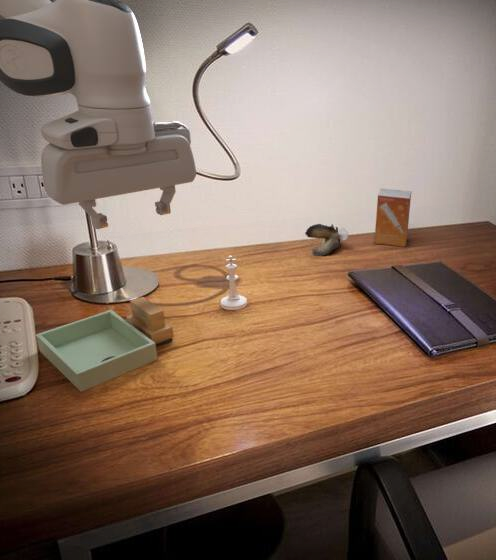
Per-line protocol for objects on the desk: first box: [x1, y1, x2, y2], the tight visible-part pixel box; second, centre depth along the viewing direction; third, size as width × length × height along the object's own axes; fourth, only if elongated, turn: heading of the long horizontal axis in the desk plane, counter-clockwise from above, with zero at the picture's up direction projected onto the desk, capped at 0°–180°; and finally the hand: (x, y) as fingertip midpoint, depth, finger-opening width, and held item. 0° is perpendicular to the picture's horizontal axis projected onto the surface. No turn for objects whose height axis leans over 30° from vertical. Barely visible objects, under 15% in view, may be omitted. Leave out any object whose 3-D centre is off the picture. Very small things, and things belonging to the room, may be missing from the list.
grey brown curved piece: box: [304, 223, 349, 256], centre depth 127 cm, size 8×7×9 cm
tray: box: [35, 309, 159, 393], centre depth 81 cm, size 14×11×4 cm
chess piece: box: [220, 255, 248, 311], centre depth 98 cm, size 5×5×10 cm
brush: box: [125, 296, 175, 348], centre depth 86 cm, size 8×4×6 cm, turn 52°
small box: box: [374, 188, 412, 248], centre depth 133 cm, size 8×6×13 cm
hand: (133, 220), depth 79 cm, fingers open, 8 cm apart
